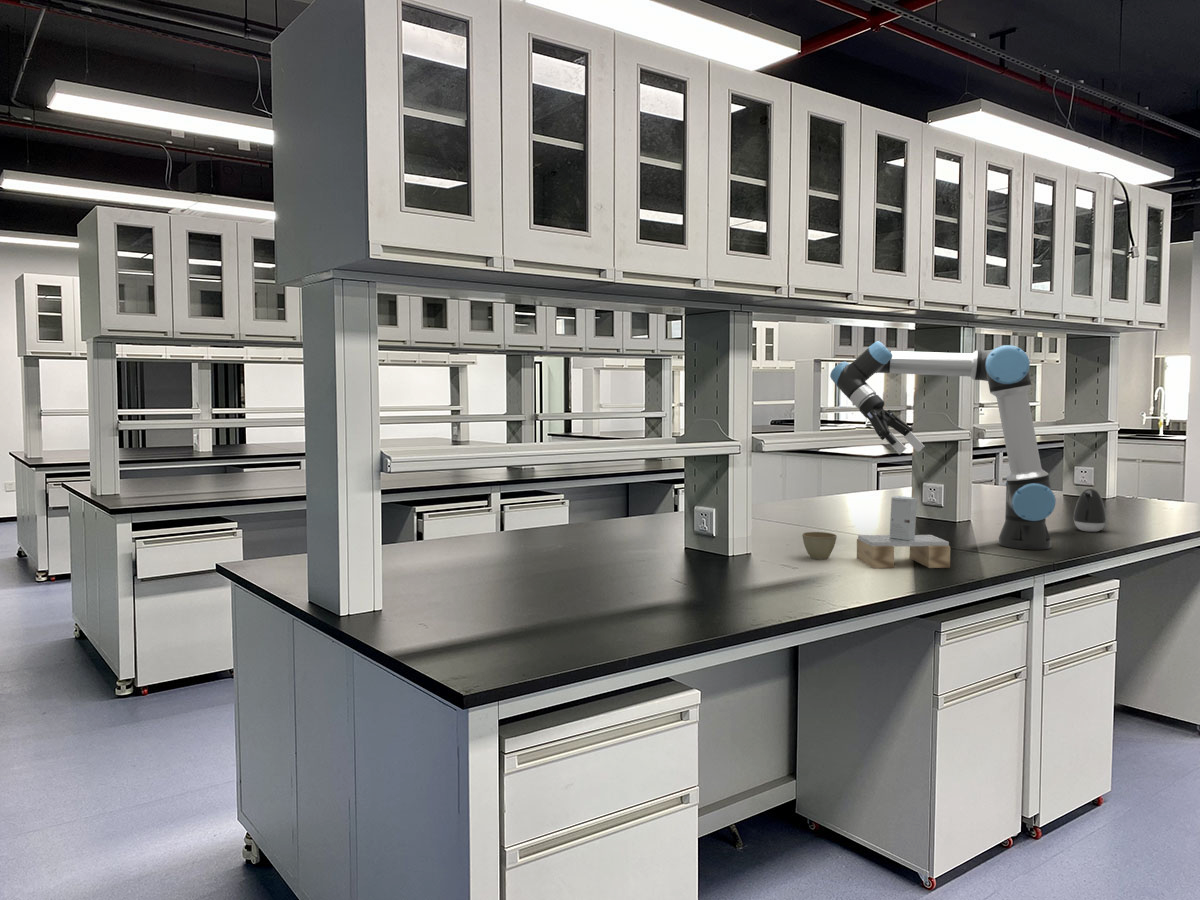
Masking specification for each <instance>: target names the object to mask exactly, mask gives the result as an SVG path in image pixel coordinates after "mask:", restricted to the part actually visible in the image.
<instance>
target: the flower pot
mask: <svg viewBox="0 0 1200 900" xmlns="http://www.w3.org/2000/svg"><path fill="white" fill-rule="evenodd" d="M837 537H838V536H837V534H836V533H832V532H826V531H825V532H824V531H807V532H803V533H802V541H803V545H804V548H805V550H806V552H807V555H808V557H809V558H810V559H813V560H819V561H820V560H823V561H824V560H828V558H829V557H830V556H831V554H832V552H833V550H834V549H835V544H836V542H837Z"/></svg>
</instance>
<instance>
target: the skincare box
mask: <svg viewBox="0 0 1200 900" xmlns="http://www.w3.org/2000/svg"><path fill="white" fill-rule="evenodd" d="M890 501H891V502H890V505H891V506H890V507H891V508H890V518H889V519H890V522H889V535H890V538H896V539H903V540H912V539H914V538H915V535H916V521H917V504H918V498H917V497H912V496H911V497H910V496H901V495H896V496H891V500H890Z"/></svg>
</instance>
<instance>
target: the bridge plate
mask: <svg viewBox="0 0 1200 900" xmlns="http://www.w3.org/2000/svg"><path fill="white" fill-rule="evenodd" d="M857 539H859V540H860V541H862V542H864V543H866V544H868V545H870V546H872V547H877V546H893V547H910V546H950V542H949V541H947V540H945V539H943V538H940V537H937V536H935V535H933V534H915V538H914V539H912V540H903V539H896V538H890V534H888V535H887V534H871V535H870V534H869V535H868V534H862V535H861V534H858V536H857Z"/></svg>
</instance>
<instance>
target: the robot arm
mask: <svg viewBox="0 0 1200 900" xmlns="http://www.w3.org/2000/svg"><path fill="white" fill-rule="evenodd" d="M1030 363H1031V361H1030V358H1029V356H1028V354H1027V353H1026V352H1025V351H1024V350H1023V349H1022V348H1020V347H1019V346H1015V345H1013V344H1007V345H1000V346H997V347H995V348H993V349H989V350H988V349H986V350H985V349H984V350H980V349H979V350H974V351H973V352H972V353H969V352H938V351H935V352H934V351H907V350H906V351H905V350H889V349H888V347H886V346H885V345H884V344H883V343H882V342H881V341H879V340H878V341H874V343H872V344H871V345H869V346H868V348H866V350H864V351H863V352H862V353H861V354H860V355H858V356H857V358H856V359H854V360H853V361H852V362H851V363H848V362H847V361H842V362H840V363H839V364H837V365H836V366H835V367H834V368H833V369H832V370H831V371H830V375H829V376H830V379H831V381H833V383H834V384H835V385H836V387H837V388H838V389H839V390H840V391H841V392H842V393H843V395H845V396H846V398H847V399H848V400H850V402H851V403H852V404H851V405H852V406H855V407H856V408H857V409H859V412H860V413H861V414H862V415H863V416H864V417H865V418H867V420H868V421H869V423H870V424H871V425H872V428H873V430H874V431H875V432H876V434H877V436H878V437H879V438H880V440H882V441H883V440H886V442H887V443H888V444H889V445H890V446H891V447H892V448H893V449H894V450H895V452H896V453H897V454H898V455H901V454H902V453H903V452H904V451H905V450H906V449H907V448H906V446H905V445H904V444H903V442H901V440H899V438H897V436H896V435H895V434H894V433H893V432H891V431H890V428H889V427H891V428H892V429H893V430H895V431H896V432H898V433H899V434H901V435H902V436H903V437H904V439H905V440H906V441H907V443H909V444H910V445H911V447H912V448H913V449H914V450H915V451H916V452H917V453H920V451H922V450H923V449H924V447H926V446H925V445H924V444H923V442H921V440H920V439H919V438H918V437H917V436H916V435H915V434H914V433H913V431H914V429H913V428H912V427H910V426H909V425H908V424H907V423H905V422H904V421H903V420H902V419H901V418H899V417H898V416H897V415H895V413H893V412H892V410H890V409H888V410H886V409H884V407H885V401H884V400H883V399H882V398H881V396H880V395H878V394H877V392H876V391H875V390H874V389H873V388H872V387H871V386H870V385H869V384H868V383H867V381H868V380H869V379H870V378H871V377H872V376H873V375H874V374H878V373H879V374H899V375H900V374H902V375H903V374H904V375H925V376H926V375H927V376H947V377H948V376H950V377H970V378H971V379H972V380H974V381H984V382H987V384H988V389H989V393H990V394H991V395H992V396H994V397H995V398H996V402H997V406H998V412H999V418H1000V423H1001V428H1002V433H1003V438H1004V445H1005V448H1006V449H1005V451H1006V454H1007V459H1008V465H1009V471H1010V473H1009V475H1008V476H1007V477H1006V482H1005V487H1006V488H1005V517H1004V519H1005V521H1004V524H1003V526H1002V528H1001V531H1000V533H999V536H998V545H1000V546H1002V547H1006V548H1011V549H1018V550H1019V549H1020V550H1036V551H1037V550H1049V549H1051V548H1052V540H1051V536H1050V533H1049V530H1048V526H1047V524H1046V521H1047V520H1046V519H1047V518H1048V517H1050V516H1051V514H1053V512H1054V510H1055V508H1056V503H1057V500H1056V499H1057V498H1056V495H1055V493H1054V492H1053V490H1052V485H1051V481H1050V475H1049V472H1047V471H1045V470H1044V469H1043V468H1042V463H1041V458H1040V453H1039V447H1038V441H1037V437H1036V431H1035V426H1034V421H1033V415H1032V411H1031V405H1030V400H1029V394H1028V391H1029V390H1030V389H1031V387H1032V381H1031V375H1030V367H1031V366H1030V365H1031V364H1030Z"/></svg>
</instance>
